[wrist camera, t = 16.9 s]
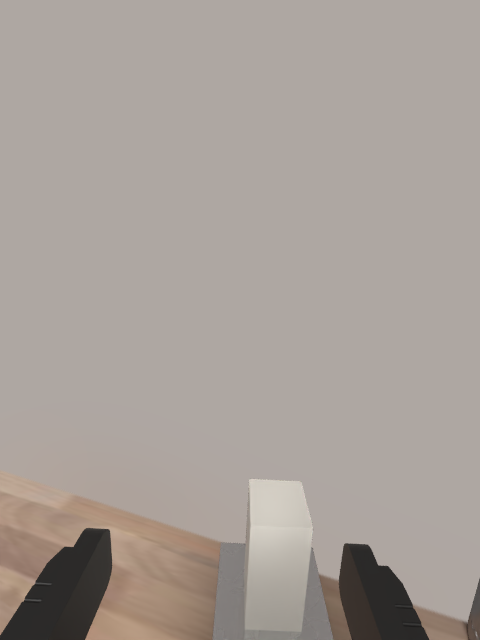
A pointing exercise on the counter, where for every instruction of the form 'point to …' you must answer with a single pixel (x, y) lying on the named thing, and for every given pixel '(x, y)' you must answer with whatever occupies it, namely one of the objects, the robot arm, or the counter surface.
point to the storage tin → (230, 603)
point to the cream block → (276, 555)
